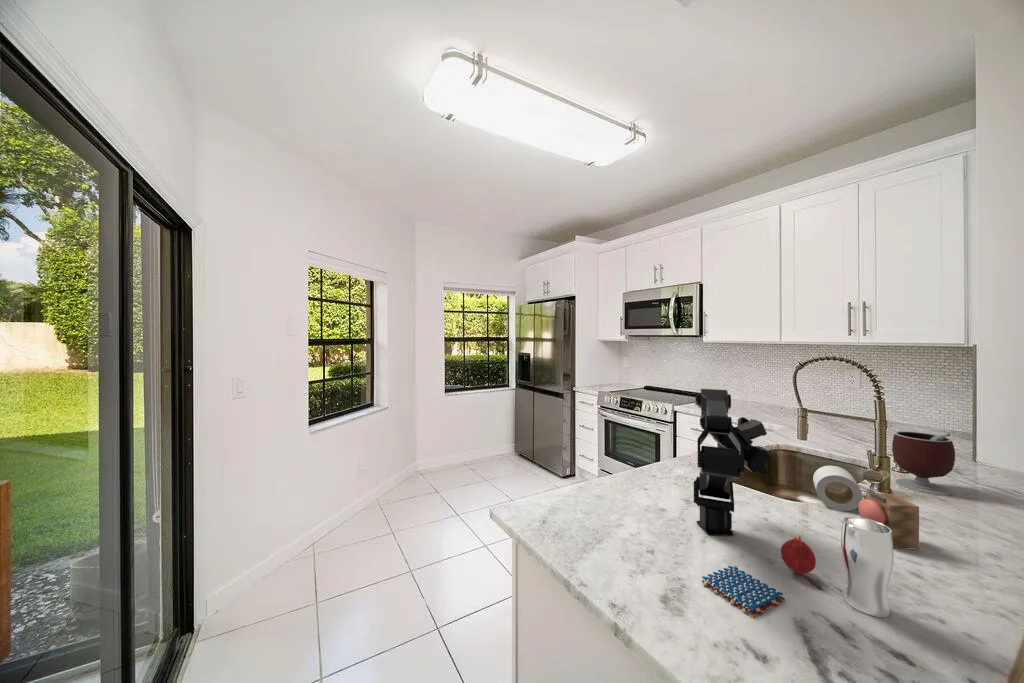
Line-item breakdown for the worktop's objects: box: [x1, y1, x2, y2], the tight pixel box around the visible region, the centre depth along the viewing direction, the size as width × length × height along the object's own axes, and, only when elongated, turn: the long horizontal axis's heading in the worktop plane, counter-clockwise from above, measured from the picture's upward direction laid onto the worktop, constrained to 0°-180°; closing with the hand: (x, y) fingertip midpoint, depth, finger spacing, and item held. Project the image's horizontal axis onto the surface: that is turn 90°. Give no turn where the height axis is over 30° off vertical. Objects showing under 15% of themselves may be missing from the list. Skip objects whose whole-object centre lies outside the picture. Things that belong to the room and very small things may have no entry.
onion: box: [780, 534, 817, 576], centre depth 77 cm, size 6×6×8 cm
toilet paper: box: [812, 465, 863, 512], centre depth 110 cm, size 10×10×10 cm
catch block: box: [865, 491, 920, 550], centre depth 90 cm, size 6×7×11 cm
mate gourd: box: [891, 430, 956, 496], centre depth 121 cm, size 16×14×20 cm
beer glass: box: [840, 515, 895, 618], centre depth 68 cm, size 7×7×15 cm
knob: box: [857, 498, 886, 524], centre depth 90 cm, size 8×6×6 cm
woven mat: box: [701, 565, 786, 618], centre depth 72 cm, size 10×11×2 cm
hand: (765, 473), depth 98 cm, fingers closed
